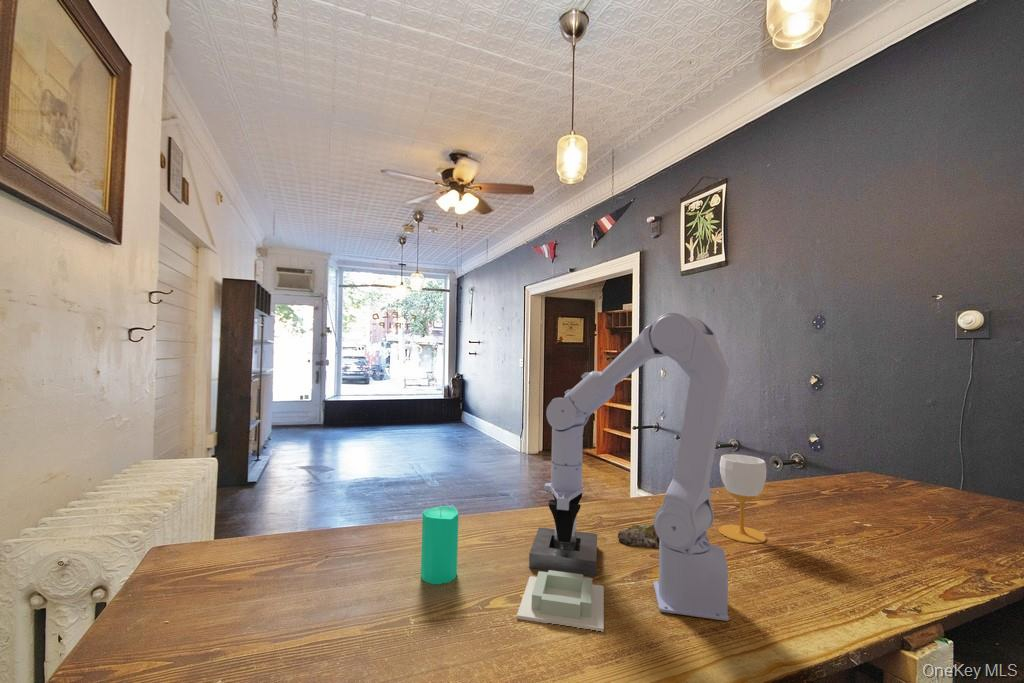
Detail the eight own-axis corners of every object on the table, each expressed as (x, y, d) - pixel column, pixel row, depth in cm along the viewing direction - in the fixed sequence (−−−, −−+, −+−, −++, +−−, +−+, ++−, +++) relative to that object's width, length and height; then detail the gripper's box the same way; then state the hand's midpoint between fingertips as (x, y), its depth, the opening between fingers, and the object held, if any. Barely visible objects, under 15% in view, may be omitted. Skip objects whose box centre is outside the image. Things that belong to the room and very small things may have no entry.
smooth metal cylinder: (576, 551, 81) (577, 508, 81) (575, 561, 77) (576, 516, 77) (555, 548, 82) (556, 506, 82) (553, 558, 78) (553, 513, 78)
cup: (710, 531, 93) (711, 456, 93) (731, 522, 98) (731, 452, 98) (754, 547, 85) (755, 466, 86) (774, 536, 91) (774, 460, 91)
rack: (603, 589, 69) (603, 573, 69) (603, 632, 58) (603, 613, 58) (529, 579, 71) (530, 563, 71) (516, 618, 60) (517, 600, 61)
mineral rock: (653, 519, 94) (674, 523, 86) (656, 541, 92) (678, 546, 85) (607, 524, 91) (624, 528, 84) (610, 546, 90) (628, 552, 82)
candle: (421, 586, 68) (424, 510, 69) (419, 568, 74) (421, 498, 74) (459, 582, 70) (461, 507, 70) (454, 564, 76) (456, 495, 76)
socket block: (596, 546, 84) (597, 533, 84) (595, 576, 73) (596, 561, 73) (538, 539, 86) (538, 527, 86) (529, 567, 75) (529, 553, 75)
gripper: (550, 452, 88) (548, 519, 88) (539, 470, 74) (538, 550, 73) (584, 454, 86) (583, 522, 86) (581, 473, 72) (579, 555, 72)
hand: (565, 535), depth 80 cm, fingers closed on smooth metal cylinder, 4 cm apart
